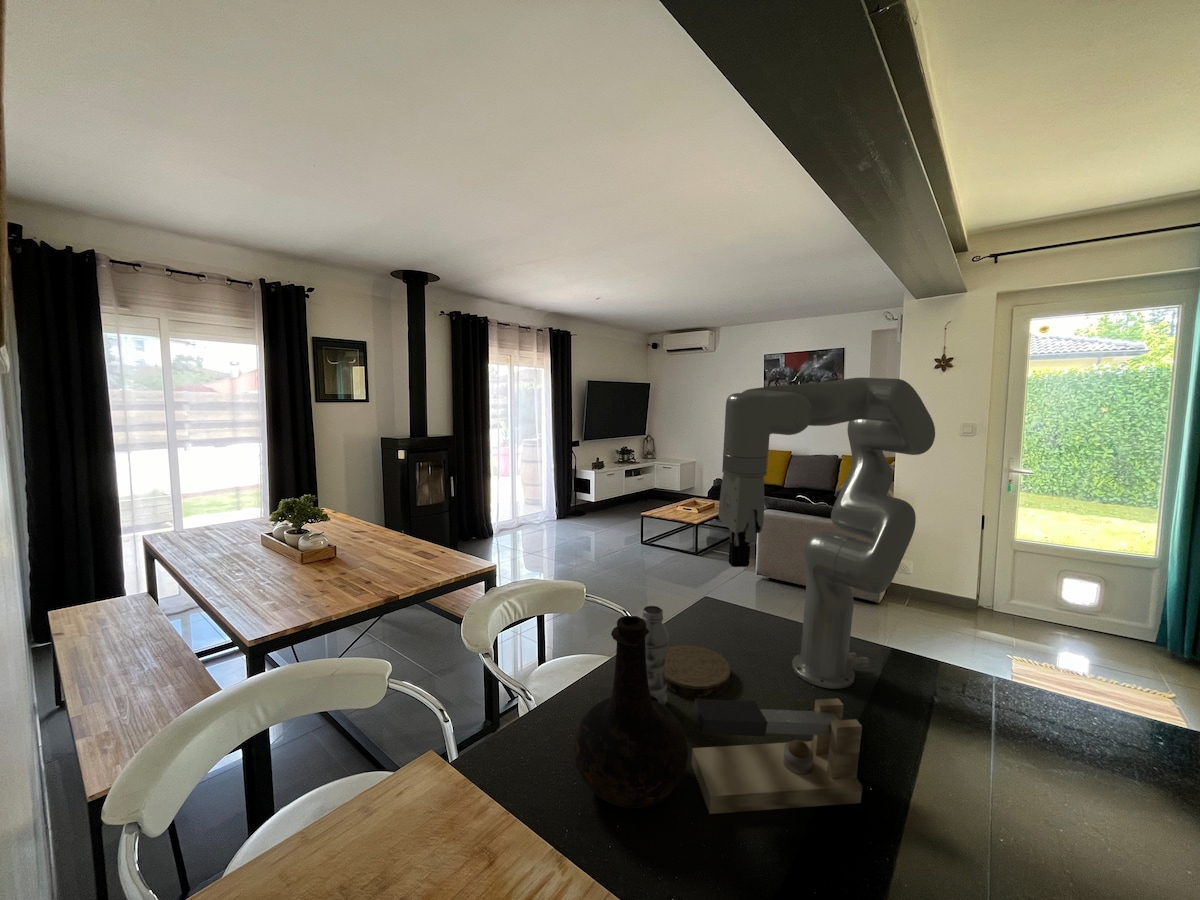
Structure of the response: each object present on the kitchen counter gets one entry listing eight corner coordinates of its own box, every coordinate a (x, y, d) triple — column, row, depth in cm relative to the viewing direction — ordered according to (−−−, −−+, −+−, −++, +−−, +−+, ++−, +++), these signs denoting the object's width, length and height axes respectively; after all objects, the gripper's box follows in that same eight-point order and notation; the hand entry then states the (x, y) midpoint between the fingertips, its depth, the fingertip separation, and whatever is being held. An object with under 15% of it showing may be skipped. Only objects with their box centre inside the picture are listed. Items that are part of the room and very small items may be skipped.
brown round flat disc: (685, 709, 104) (686, 695, 103) (641, 668, 118) (641, 655, 117) (746, 686, 112) (746, 673, 111) (697, 650, 125) (697, 638, 125)
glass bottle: (697, 762, 90) (705, 607, 85) (666, 849, 74) (673, 664, 69) (601, 731, 97) (604, 587, 92) (554, 804, 81) (554, 634, 76)
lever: (826, 723, 88) (830, 704, 87) (843, 744, 83) (847, 725, 82) (692, 718, 85) (695, 698, 84) (700, 740, 80) (704, 719, 80)
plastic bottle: (666, 717, 101) (669, 619, 97) (630, 712, 102) (633, 615, 99) (668, 697, 107) (672, 604, 104) (635, 692, 108) (637, 600, 105)
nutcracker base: (827, 755, 92) (833, 692, 90) (860, 803, 82) (868, 733, 80) (691, 764, 89) (694, 699, 87) (709, 813, 79) (713, 742, 77)
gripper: (710, 457, 99) (705, 550, 102) (739, 474, 84) (732, 583, 87) (749, 456, 100) (743, 550, 103) (784, 473, 85) (776, 581, 88)
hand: (738, 564), depth 95 cm, fingers closed
